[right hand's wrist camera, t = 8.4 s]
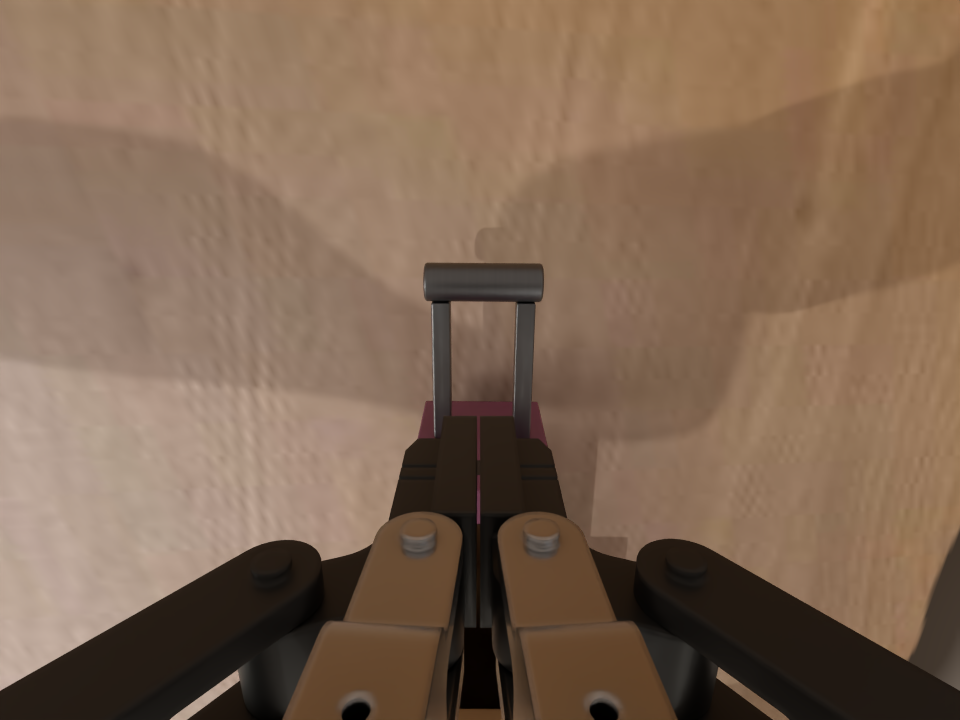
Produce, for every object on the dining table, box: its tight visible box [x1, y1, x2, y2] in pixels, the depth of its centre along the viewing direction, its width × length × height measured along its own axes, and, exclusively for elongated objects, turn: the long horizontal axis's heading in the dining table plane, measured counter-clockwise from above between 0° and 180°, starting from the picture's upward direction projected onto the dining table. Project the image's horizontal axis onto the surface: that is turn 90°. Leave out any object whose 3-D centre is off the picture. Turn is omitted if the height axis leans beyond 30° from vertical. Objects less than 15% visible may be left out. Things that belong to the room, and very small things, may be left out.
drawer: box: [418, 263, 548, 709], centre depth 22 cm, size 25×4×6 cm, turn 0°
